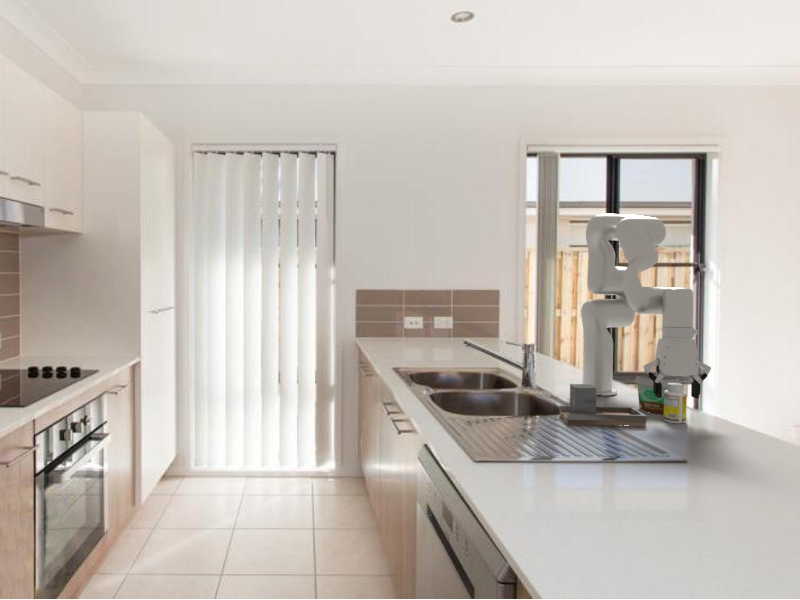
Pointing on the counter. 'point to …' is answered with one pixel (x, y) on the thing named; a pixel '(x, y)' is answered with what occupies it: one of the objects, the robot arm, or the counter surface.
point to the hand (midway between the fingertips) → (676, 397)
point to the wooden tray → (596, 410)
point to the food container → (651, 395)
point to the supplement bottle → (675, 403)
